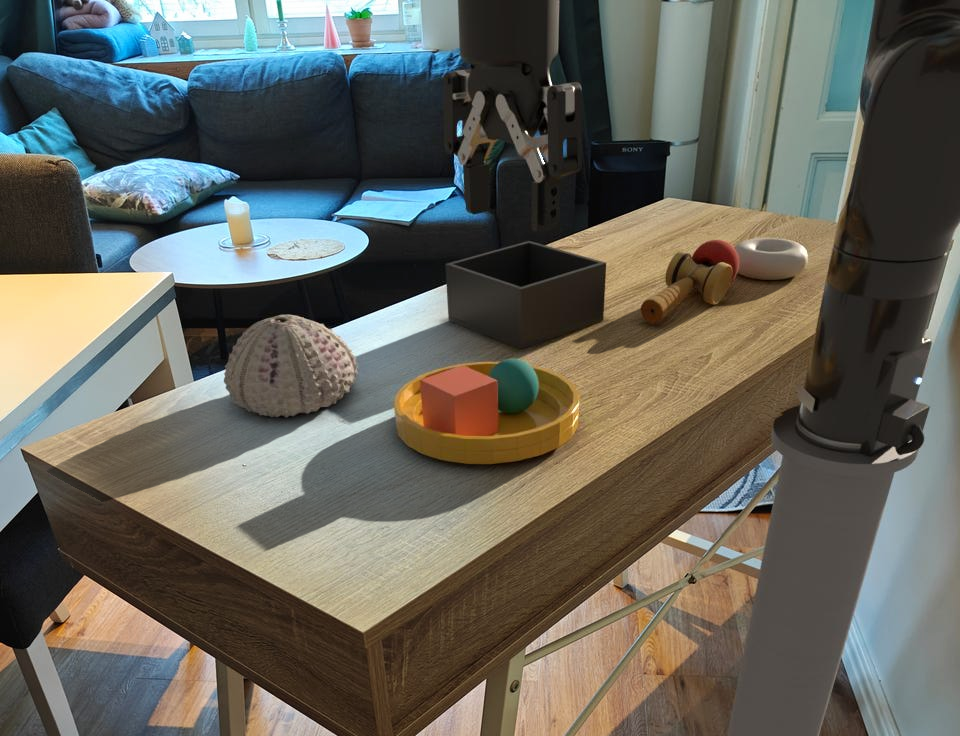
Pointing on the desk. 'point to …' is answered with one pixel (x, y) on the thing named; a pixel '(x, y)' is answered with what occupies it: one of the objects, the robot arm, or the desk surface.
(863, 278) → the robot arm
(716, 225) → the desk surface
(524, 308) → the bin
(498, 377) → the toy ball
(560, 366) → the desk surface
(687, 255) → the kendama
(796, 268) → the donut
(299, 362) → the sea urchin shell
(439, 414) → the toy block
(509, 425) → the bowl
